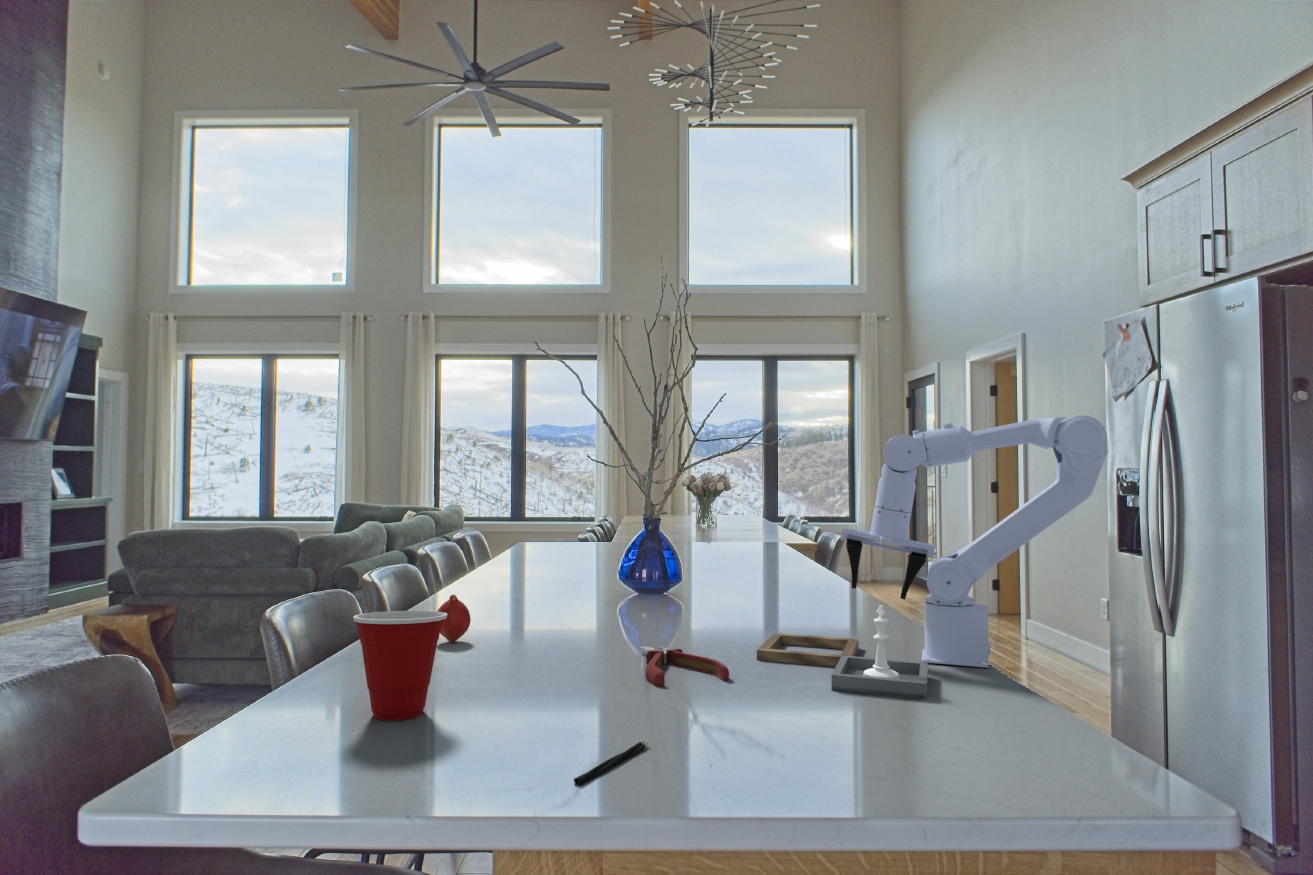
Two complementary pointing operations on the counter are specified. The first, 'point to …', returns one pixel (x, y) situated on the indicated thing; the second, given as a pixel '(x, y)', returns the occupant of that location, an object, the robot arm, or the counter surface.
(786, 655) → the brown square frame
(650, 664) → the pliers
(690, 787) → the counter surface
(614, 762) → the electrical cable
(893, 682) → the tray
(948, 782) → the counter surface
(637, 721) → the counter surface
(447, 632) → the onion
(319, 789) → the counter surface
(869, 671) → the chess piece
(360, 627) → the plastic cup
